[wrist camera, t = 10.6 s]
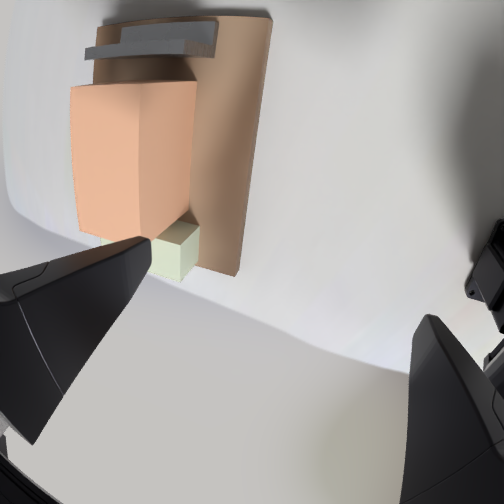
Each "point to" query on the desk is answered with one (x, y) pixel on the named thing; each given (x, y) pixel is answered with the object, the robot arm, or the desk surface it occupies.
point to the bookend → (161, 42)
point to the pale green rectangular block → (173, 250)
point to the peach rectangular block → (131, 155)
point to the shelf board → (211, 124)
